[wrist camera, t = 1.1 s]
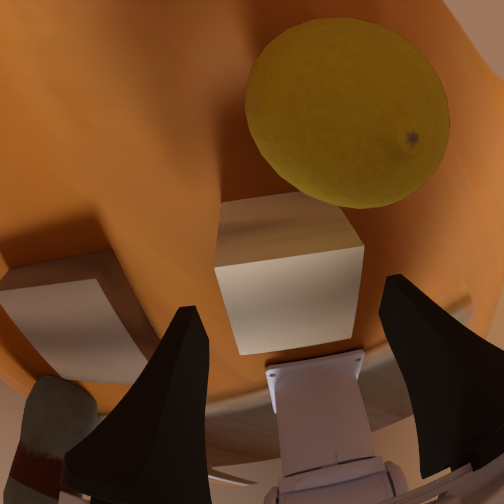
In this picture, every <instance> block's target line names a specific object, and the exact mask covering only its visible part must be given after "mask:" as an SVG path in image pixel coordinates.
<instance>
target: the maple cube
mask: <svg viewBox="0 0 504 504" xmlns="http://www.w3.org/2000/svg"><path fill="white" fill-rule="evenodd" d="M364 247H365V246H364V244H363V242H362V241H361V239H360V238H359V236H358V235H357V233H356V232H355V230H354V228H353V227H352V225H351V224H350V222H349V221H348V219H347V218H346V216H345V215H344V213H343V212H342V210H341V209H340V207H339V206H335V205H331V204H329V203H326V202H324V201H321V200H319V199H316V198H314V197H311V196H309V195H306V194H305V193H303V192H301V191H298V192H290V193H283V194H275V195H268V196H261V197H254V198H247V199H241V200H234V201H228V202H222V203H221V208H220V217H219V226H218V235H217V244H216V254H215V264H214V269H215V272H216V276H217V279H218V283H219V286H220V290H221V293H222V297H223V300H224V304H225V307H226V310H227V314H228V317H229V320H230V324H231V327H232V330H233V333H234V337H235V340H236V343H237V346H238V350H239V353H240V355H248V354H256V353H264V352H272V351H280V350H287V349H293V348H300V347H306V346H312V345H318V344H323V343H329V342H334V341H339V340H344V339H349V338H351V337H352V331H353V326H354V320H355V314H356V308H357V302H358V295H359V288H360V281H361V274H362V265H363V257H364Z"/></svg>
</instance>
